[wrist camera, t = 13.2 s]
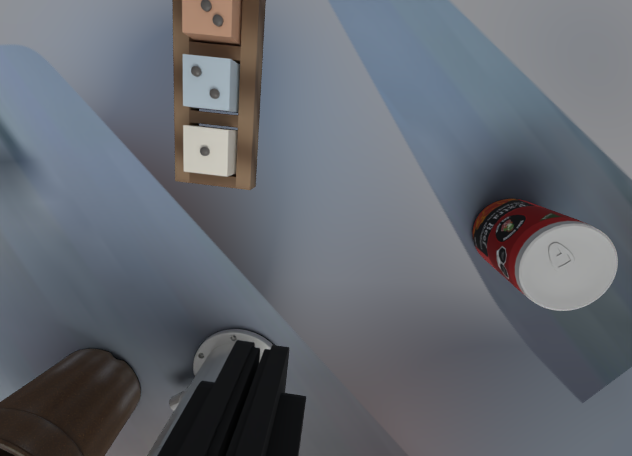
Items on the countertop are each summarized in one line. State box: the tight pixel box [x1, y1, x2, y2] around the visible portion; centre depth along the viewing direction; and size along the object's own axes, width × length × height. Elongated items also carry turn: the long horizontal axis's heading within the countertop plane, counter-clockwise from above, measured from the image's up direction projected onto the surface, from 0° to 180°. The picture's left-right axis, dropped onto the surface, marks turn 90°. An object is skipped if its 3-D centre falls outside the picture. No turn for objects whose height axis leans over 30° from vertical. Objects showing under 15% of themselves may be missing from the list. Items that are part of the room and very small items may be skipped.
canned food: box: [473, 199, 618, 311], centre depth 32 cm, size 8×8×11 cm
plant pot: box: [0, 349, 141, 456], centre depth 41 cm, size 16×16×16 cm
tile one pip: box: [183, 125, 238, 177], centre depth 35 cm, size 5×5×4 cm
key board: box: [173, 0, 266, 190], centre depth 35 cm, size 20×8×2 cm, turn 174°
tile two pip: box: [183, 54, 240, 113], centre depth 33 cm, size 5×5×4 cm
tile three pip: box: [182, 0, 243, 47], centre depth 31 cm, size 5×5×4 cm
